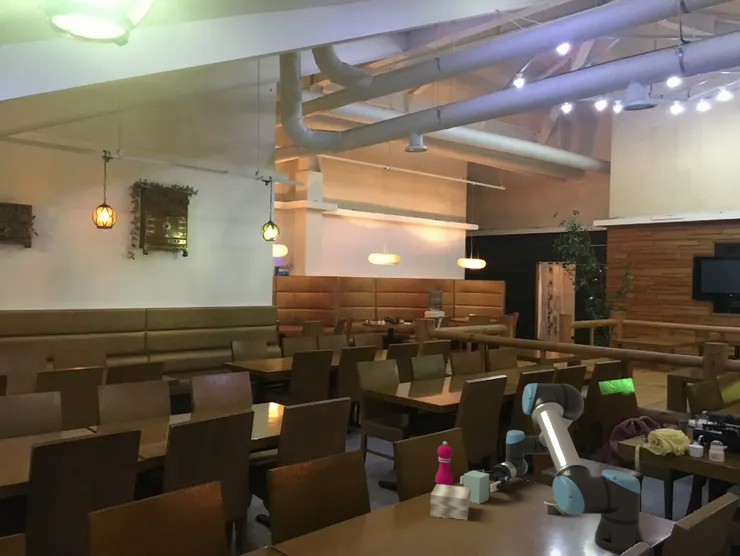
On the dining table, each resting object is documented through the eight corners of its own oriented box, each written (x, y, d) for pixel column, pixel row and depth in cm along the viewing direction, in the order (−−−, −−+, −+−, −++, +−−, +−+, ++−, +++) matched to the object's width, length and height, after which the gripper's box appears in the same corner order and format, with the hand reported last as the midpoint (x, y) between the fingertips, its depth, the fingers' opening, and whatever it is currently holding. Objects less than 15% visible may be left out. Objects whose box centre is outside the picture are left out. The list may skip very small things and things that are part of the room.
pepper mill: (432, 488, 257) (433, 439, 257) (448, 487, 259) (449, 438, 259) (439, 494, 250) (440, 444, 250) (455, 493, 252) (457, 443, 252)
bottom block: (468, 508, 236) (469, 498, 236) (467, 521, 223) (467, 510, 223) (434, 505, 238) (434, 494, 239) (430, 517, 226) (430, 506, 226)
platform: (589, 519, 228) (589, 501, 228) (545, 523, 223) (545, 504, 223) (569, 507, 240) (570, 490, 240) (527, 511, 235) (528, 493, 235)
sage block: (473, 495, 250) (473, 470, 250) (488, 499, 245) (489, 474, 245) (463, 499, 244) (464, 474, 244) (479, 504, 240) (479, 478, 240)
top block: (470, 498, 236) (470, 487, 236) (466, 510, 223) (466, 499, 223) (436, 494, 239) (436, 483, 239) (430, 505, 226) (430, 494, 226)
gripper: (530, 489, 253) (504, 502, 237) (477, 475, 269) (448, 486, 253) (531, 470, 253) (504, 482, 237) (477, 457, 269) (449, 467, 253)
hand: (475, 484), depth 245 cm, fingers open, 13 cm apart
